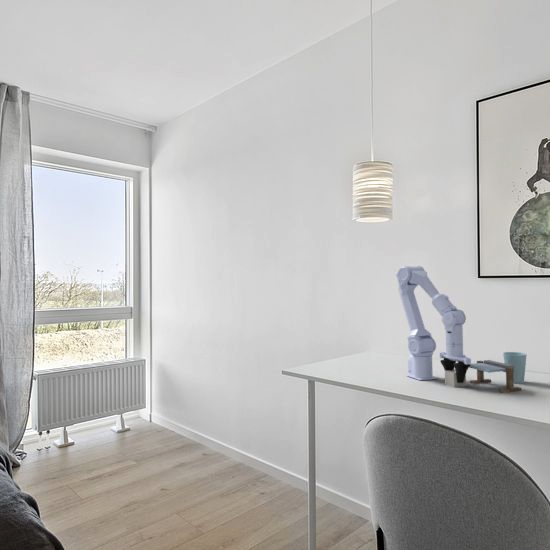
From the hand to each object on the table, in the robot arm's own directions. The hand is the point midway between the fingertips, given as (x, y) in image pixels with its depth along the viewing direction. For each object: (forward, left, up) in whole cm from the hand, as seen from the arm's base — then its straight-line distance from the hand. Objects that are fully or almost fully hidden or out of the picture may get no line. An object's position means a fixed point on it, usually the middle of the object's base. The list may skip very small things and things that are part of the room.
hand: (455, 380), depth 165 cm
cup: (+4, +23, -2) cm, 23 cm away
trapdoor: (+7, +9, +4) cm, 12 cm away
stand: (+7, +11, -1) cm, 13 cm away
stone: (0, 0, -2) cm, 2 cm away
